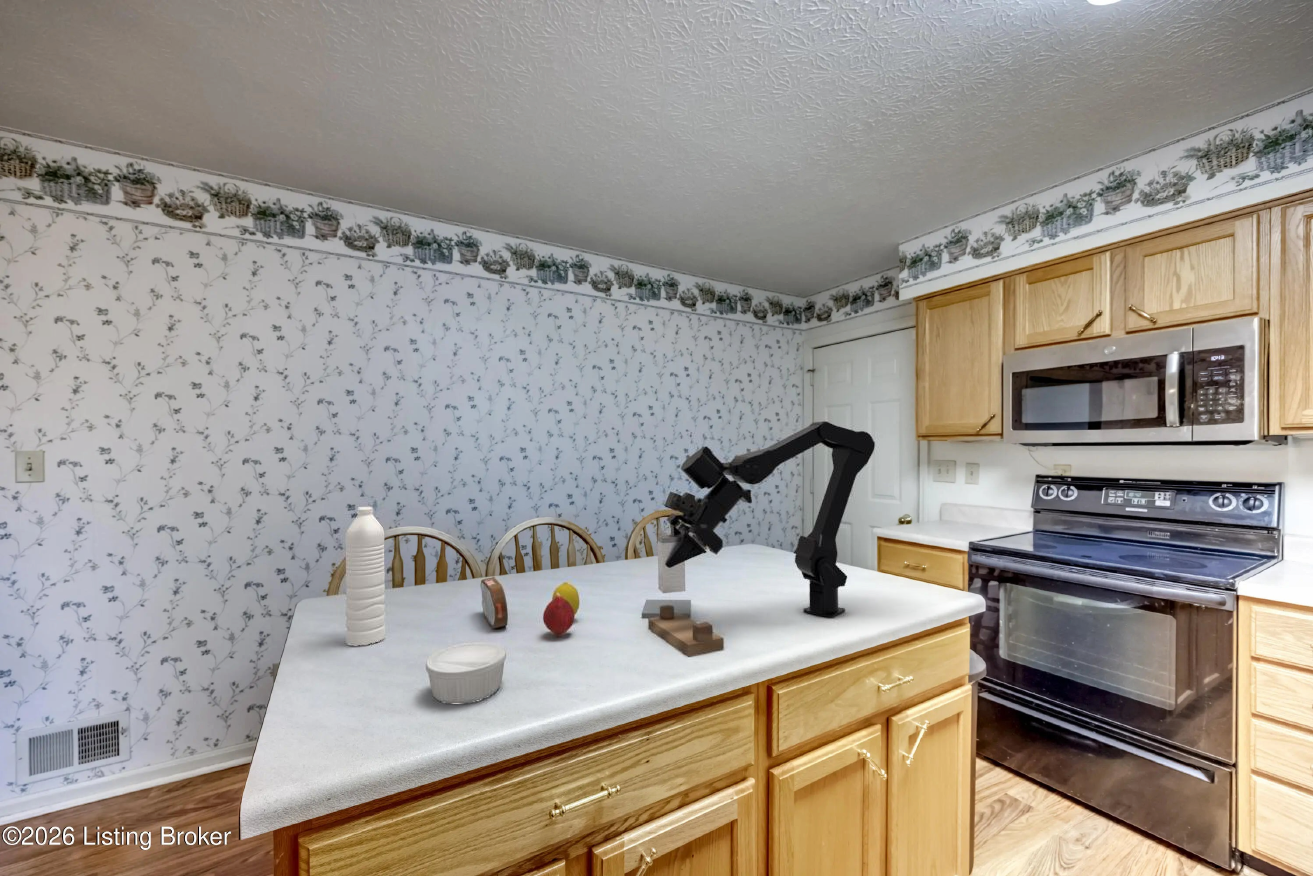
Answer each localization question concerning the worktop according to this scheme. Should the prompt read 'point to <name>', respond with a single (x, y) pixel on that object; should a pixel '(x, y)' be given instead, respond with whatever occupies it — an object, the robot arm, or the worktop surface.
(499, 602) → the tin
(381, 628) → the water bottle
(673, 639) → the body
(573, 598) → the lemon
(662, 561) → the lever cap
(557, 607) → the onion
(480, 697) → the ramekin
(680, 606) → the mat
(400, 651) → the worktop surface
